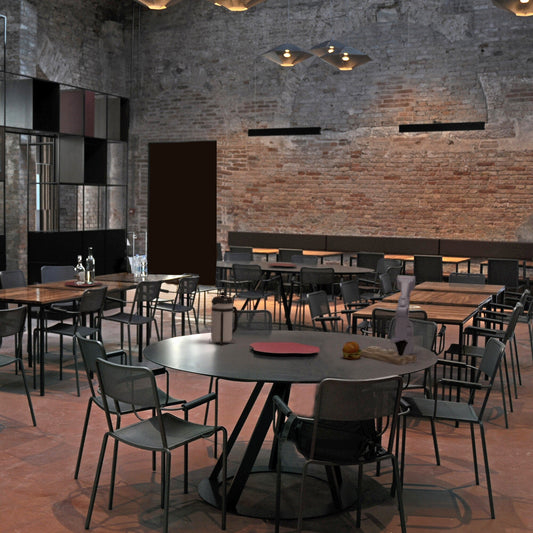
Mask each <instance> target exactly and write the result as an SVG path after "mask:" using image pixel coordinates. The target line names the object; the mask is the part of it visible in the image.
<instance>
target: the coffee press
mask: <svg viewBox="0 0 533 533" xmlns="http://www.w3.org/2000/svg"><path fill="white" fill-rule="evenodd" d="M233 304H234V300H233V298H232V297H230V296H227V295H225V292H224V291H221V292H220V295H217V296H214V297H213V298H212V300H211V314H210V315H211V317H210V318H211V319H210V320H211V321H210V322H211V330H210V339H209V340H208V344H211V343H213V342H215V343H219V344H220V346H223V345H224V344H223V343H228V342H230V343H231V344H233V342H235V340H234V339H233V334H234V333H236V331H237V330H238V323H239V321H238V319H239V314H238V309H237V307H236V306H233ZM233 318H234V319H233ZM233 321H234V322H233ZM233 323H234V324H233Z"/></svg>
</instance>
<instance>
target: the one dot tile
mask: <svg viewBox="0 0 533 533" xmlns="http://www.w3.org/2000/svg"><path fill="white" fill-rule="evenodd" d="M366 349H367V350H368V351H372V352H379V350H381V349H383V347H381V346H377V345H372V346H367V347H366Z"/></svg>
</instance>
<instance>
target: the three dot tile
mask: <svg viewBox="0 0 533 533" xmlns="http://www.w3.org/2000/svg"><path fill="white" fill-rule="evenodd" d="M409 355H410V354H409ZM409 355H404V354H403V355H398V354H394V355H392V356H395V357H400V358H404V357H409Z"/></svg>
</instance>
